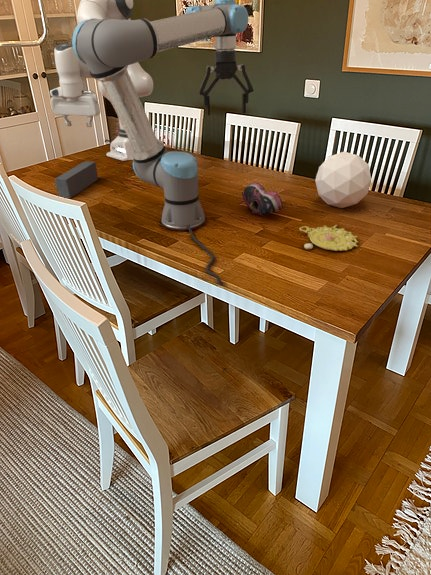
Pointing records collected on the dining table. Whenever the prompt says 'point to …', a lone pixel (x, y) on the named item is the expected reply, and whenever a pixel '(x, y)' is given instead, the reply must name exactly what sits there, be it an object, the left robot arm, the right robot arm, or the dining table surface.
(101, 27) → the right robot arm
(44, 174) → the dining table surface
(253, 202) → the athletic shoe
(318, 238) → the decorative object
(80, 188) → the bar
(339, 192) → the sphere
